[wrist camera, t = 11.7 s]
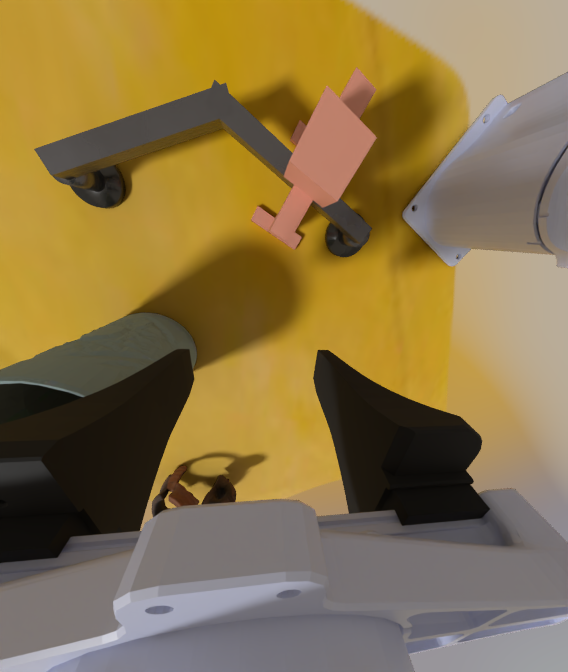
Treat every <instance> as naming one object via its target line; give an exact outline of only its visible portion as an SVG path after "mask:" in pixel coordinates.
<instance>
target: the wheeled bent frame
mask: <svg viewBox="0 0 568 672" xmlns="http://www.w3.org/2000/svg"><path fill="white" fill-rule="evenodd" d="M220 129H224V130H225V131H227V132H228V133H229V134H230V135H231V136H232V137H233V138H235V139H236V140H237V141H238V142H239V143H240V144H241V145H243V146H244V147H245V148H246V149H247V150H248V151H249V152H251V153H252V154H253V155H254V156H255V157H256V158H258V159H259V160H260V161H261V162H262V163H263V164H264V165H266V166H267V167H268V168H269V169H270V170H271V171H272V172H274V173H275V174H276V175H277V176H278V177H279V178H280V179H282V180H283V181H284V182H285V183H286V184H287V185H288V186H290V187H291V188H292V187H293V185H294V184H292V183H291V182H290V181H289V180H287V179H286V178H285V177H284V174H285V171H286V168H287V166H288V163H289V160H290V158H291V156H292V154H293V153H292V152H291V151H290V150H289V149H287V148H286V147H285V146H284V145H283V144H282V143H281V142H280V141H279V140H278V139H277V138H276V137H275V136H274V135H273V134H272V133H271V132H269V131H268V130H267V129H266V128H265V127H264V126H263V125H262V124H261V123H260V122H259V121H258V120H257V119H256V118H255V117H254V116H253V115H251V114H250V113H249V112H248V111H247V110H246V109H245V108H244V107H243V106H242V105H241V104H240V103H239V102H238V101H237V100H236V99H235V98H233V97H232V96H231V95H230V94H229V92H228V89H227V85H226V83H224V84H221V85H220V84H219V83H218V82H217V81H215V80H214V82H213V85H212V87H211V88H210V89H207V90H204V91H201V92H198V93H195V94H192V95H189V96H187V97H184V98H181V99H178V100H175V101H172V102H169V103H166V104H163V105H160V106H158V107H155V108H152V109H149V110H146V111H143V112H140V113H137V114H134V115H131V116H129V117H126V118H123V119H120V120H117V121H114V122H111V123H108V124H105V125H102V126H100V127H97V128H94V129H91V130H88V131H85V132H82V133H79V134H76V135H73V136H71V137H68V138H65V139H62V140H59V141H56V142H53V143H50V144H47V145H44V146H42V147H39V148H36V149H34V150H35V151H36V153H37V154H38V156H39V157H40V159H41V160H42V162H43V163H44V165H45V167H46V168H47V170H48V171H49V173H50V174H51V175H52V176H53V177H54V178H55V179H56V180H57V181H59V182H61V183H63V184H66V185H70V187H71V188H72V189H73V191H74V192H75V193H76V194H77V195H78V196H79V197H80V198H81V199H82V200H84V201H85V202H87V203H88V204H90V205H93V206H96V207H101V208H114V207H116V206H118V205H119V204H120V203H121V202H122V201H123V199H124V196H125V183H124V179H123V177H122V174H121V172H120V171H119V169H118V167H117V166H116V164H119V163H122V162H125V161H128V160H131V159H134V158H137V157H140V156H142V155H145V154H148V153H151V152H154V151H157V150H160V149H163V148H166V147H169V146H172V145H175V144H178V143H181V142H184V141H187V140H190V139H193V138H196V137H199V136H202V135H205V134H208V133H211V132H214V131H217V130H220ZM310 205H311V206H312V207H314V208H315V209H316V210H317V211H318V212H319V213H320V214H322V215H323V216H324V217H325V218H326V219H327V220H328V221H330V223H329V225H328V227H327V230H326V234H325V240H326V245H327V247H328V249H329V250H330V252H332V253H333V254H334V255H336V256H340V257H349V256H352V255H354V254H355V253H357V252H358V251H359V250H360V249H361V248H362V246H363V245H364V244H365V243H366V242H367V241H368V239H369V232H370V231H371V229H372V228H371V227H370V226H369V225H368V224H367V223H366V222H365V221H364V219H363V218H362V217H361V216H360V215H359V214H357V213H355V212H354V211H353V210H352V209H351V208H350V207H349V206H348V205H347V204H346V203H345V202H344V201H343V200H341V199H340V198H339V200H338V201H337V202H335V203H333V204H330V205H328V206H326V207H323V208H322V207H321V206H320V205H318V204H317V203H316V202H315V201H314V200H313V201H312V203H311V204H310Z"/></svg>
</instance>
